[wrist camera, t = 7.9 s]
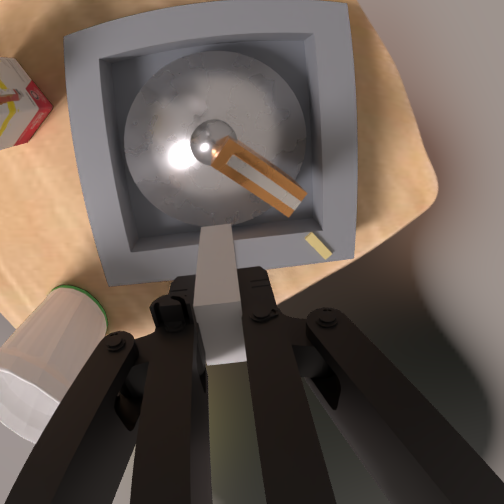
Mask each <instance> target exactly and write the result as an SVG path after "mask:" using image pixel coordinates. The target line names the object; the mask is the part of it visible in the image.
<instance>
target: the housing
mask: <svg viewBox="0 0 504 504" xmlns="http://www.w3.org/2000/svg"><path fill="white" fill-rule="evenodd" d="M205 51H229V52H236V53H239V54H243V55H247V56H249V57H252V58H254V59H256V60H259V61H260V62H262V63H264V64H265V65H267V66H269V67H270V68H271V69H273V70H274V71H275V72H276V73H278V74H279V75H280V76H281V77H282V78H283V79H284V80H285V82H286V83H287V84H288V85H289V87H290V88H291V89H292V91H293V92H294V94H295V96H296V98H297V100H298V102H299V104H300V107H301V109H302V112H303V116H304V120H305V125H306V149H305V154H304V159H303V162H302V165H301V168H300V171H299V173H298V175H297V177H296V179H295V181H296V182H297V183H298V184H299V185H300V186H301V187H302V188H303V189H304V190H305V191H306V192H307V193H308V194H307V195H306V196H305V197H304V199H303V200H302V201H301V203H300V204H299V206H298V207H297V208H296V209H295V210H294V212H293V213H292V214H291V216H290V217H289V218H288V217H287V216H286V215H284V214H283V213H281V212H280V211H278V210H277V209H275V208H274V207H271V208H269V209H268V210H267V211H265V212H264V213H262V214H260V215H258V216H257V217H255V218H253V219H250V220H248V221H245V222H242V223H239V224H235V225H231V228H232V236H233V244H234V252H235V260H236V268H237V269H239V268H247V267H255V266H261V267H262V268H263V269H264V270H266V269H275V268H283V267H291V266H299V265H307V264H315V263H323V262H330V261H338V260H346V259H353V258H354V250H355V235H356V214H357V180H358V140H357V106H356V87H355V72H354V60H353V49H352V39H351V30H350V21H349V14H348V6H347V3H340V2H331V1H320V0H224V1H213V2H204V3H195V4H188V5H181V6H175V7H169V8H164V9H158V10H153V11H149V12H144V13H140V14H135V15H131V16H127V17H123V18H120V19H116V20H112V21H109V22H105V23H102V24H99V25H96V26H92V27H89V28H86V29H83V30H80V31H78V32H75V33H72V34H69V35H67V36H64V63H65V78H66V90H67V100H68V109H69V117H70V125H71V132H72V138H73V145H74V151H75V157H76V162H77V167H78V173H79V178H80V182H81V187H82V192H83V196H84V201H85V205H86V209H87V213H88V217H89V221H90V225H91V229H92V233H93V236H94V240H95V244H96V247H97V251H98V254H99V257H100V261H101V264H102V267H103V270H104V274H105V277H106V280H107V283H108V286H109V287H110V286H120V285H130V284H140V283H150V282H160V281H169V280H175V278H176V277H177V276H186V275H194V274H196V270H197V260H198V250H199V241H200V232H201V227H204V226H196V225H192V224H188V223H185V222H182V221H179V220H176V219H174V218H172V217H170V216H169V215H167V214H165V213H164V212H162V211H161V210H159V209H158V208H156V207H155V206H154V205H153V204H152V203H151V202H150V201H149V200H148V199H147V198H146V197H145V196H144V195H143V194H142V192H141V191H140V190H139V188H138V186H137V185H136V183H135V182H134V180H133V178H132V175H131V173H130V171H129V168H128V165H127V161H126V156H125V150H124V132H125V125H126V120H127V116H128V113H129V111H130V108H131V105H132V103H133V101H134V100H135V98H136V96H137V94H138V93H139V91H140V90H141V89H142V87H143V86H144V84H145V83H146V82H147V81H148V80H149V79H150V78H151V77H152V76H153V75H154V74H155V73H157V72H158V71H159V70H160V69H162V68H163V67H165V66H166V65H168V64H170V63H171V62H173V61H175V60H177V59H180V58H182V57H184V56H187V55H191V54H194V53H198V52H205Z"/></svg>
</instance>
